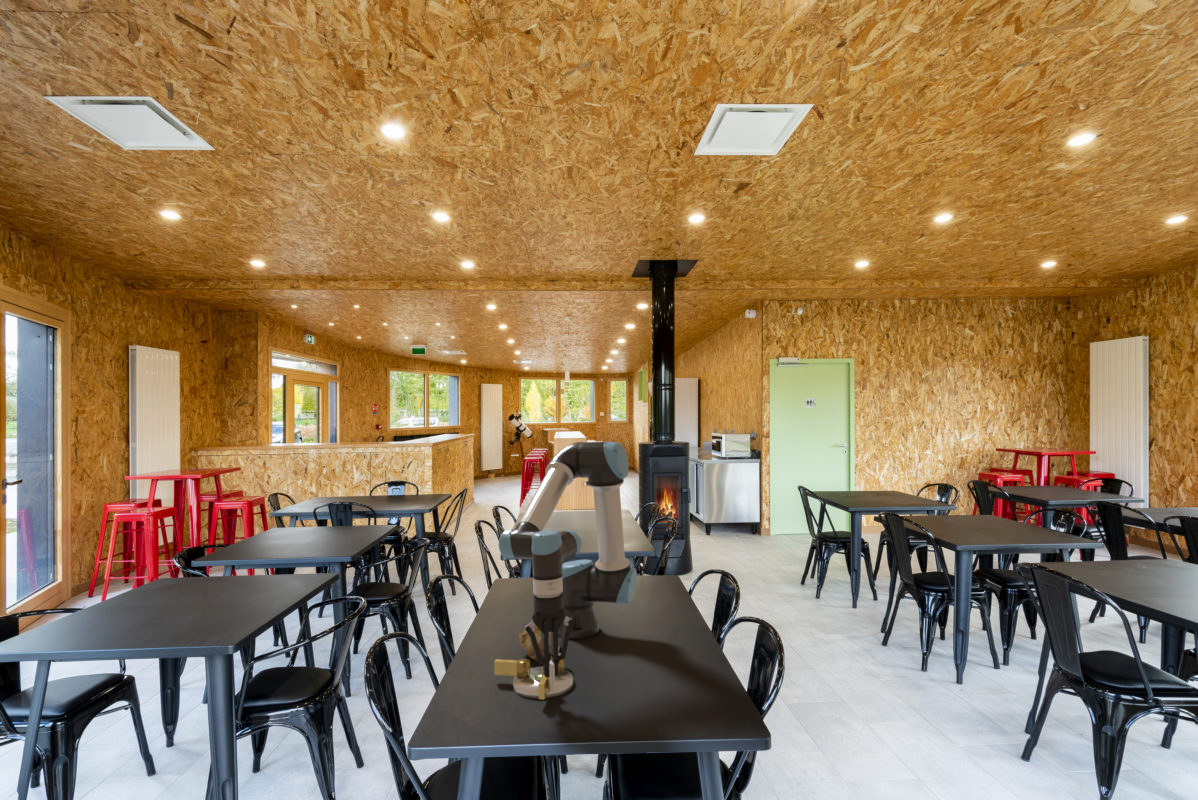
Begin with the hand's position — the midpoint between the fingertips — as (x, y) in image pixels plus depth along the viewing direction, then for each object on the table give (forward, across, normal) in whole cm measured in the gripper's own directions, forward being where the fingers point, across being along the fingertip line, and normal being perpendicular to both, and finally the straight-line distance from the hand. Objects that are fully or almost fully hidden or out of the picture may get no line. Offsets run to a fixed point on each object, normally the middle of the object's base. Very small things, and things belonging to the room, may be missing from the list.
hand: (551, 689), depth 144 cm
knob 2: (+1, -1, +2) cm, 3 cm away
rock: (+4, +3, +30) cm, 31 cm away
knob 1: (+1, -7, +15) cm, 16 cm away
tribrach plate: (+3, 0, +11) cm, 11 cm away
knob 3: (+2, +7, +16) cm, 17 cm away
